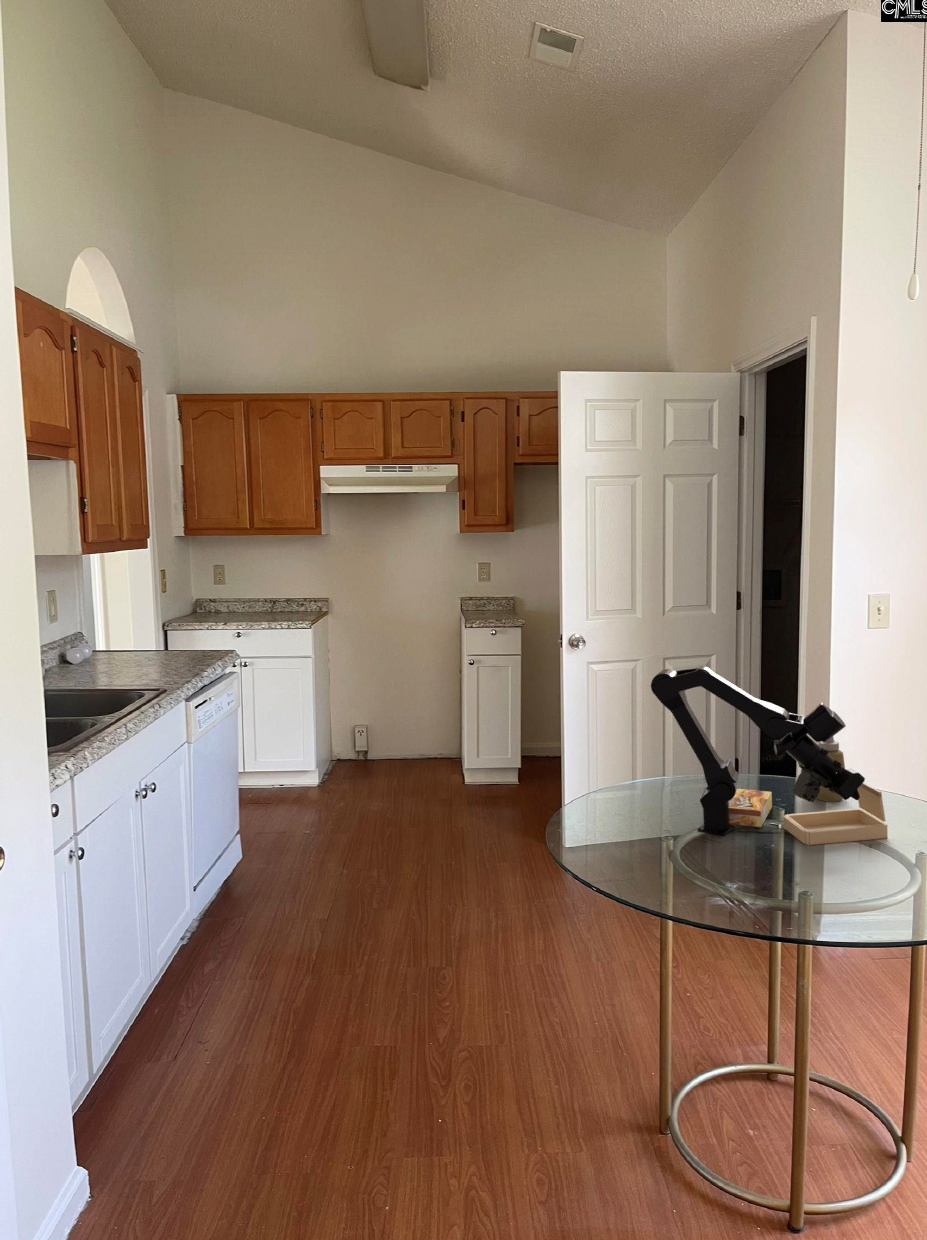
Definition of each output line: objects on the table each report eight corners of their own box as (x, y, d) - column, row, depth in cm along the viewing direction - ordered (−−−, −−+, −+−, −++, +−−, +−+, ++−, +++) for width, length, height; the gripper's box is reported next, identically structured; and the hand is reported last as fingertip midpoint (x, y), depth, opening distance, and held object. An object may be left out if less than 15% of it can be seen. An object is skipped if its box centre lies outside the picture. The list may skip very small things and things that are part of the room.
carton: (805, 846, 187) (805, 832, 187) (781, 827, 199) (781, 814, 199) (888, 838, 188) (888, 825, 188) (859, 820, 200) (859, 807, 200)
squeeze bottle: (813, 803, 214) (812, 731, 212) (810, 793, 221) (809, 723, 219) (849, 804, 211) (848, 731, 209) (845, 794, 219) (844, 723, 217)
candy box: (735, 803, 217) (722, 824, 203) (734, 787, 216) (721, 807, 203) (772, 807, 212) (761, 828, 199) (772, 790, 212) (760, 810, 199)
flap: (883, 821, 189) (878, 792, 188) (859, 807, 199) (854, 779, 198) (885, 821, 189) (881, 791, 188) (861, 806, 199) (857, 778, 198)
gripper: (765, 769, 201) (813, 812, 202) (803, 793, 182) (855, 840, 184) (798, 733, 200) (845, 776, 202) (838, 754, 182) (890, 800, 184)
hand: (857, 798), depth 193 cm, fingers closed
